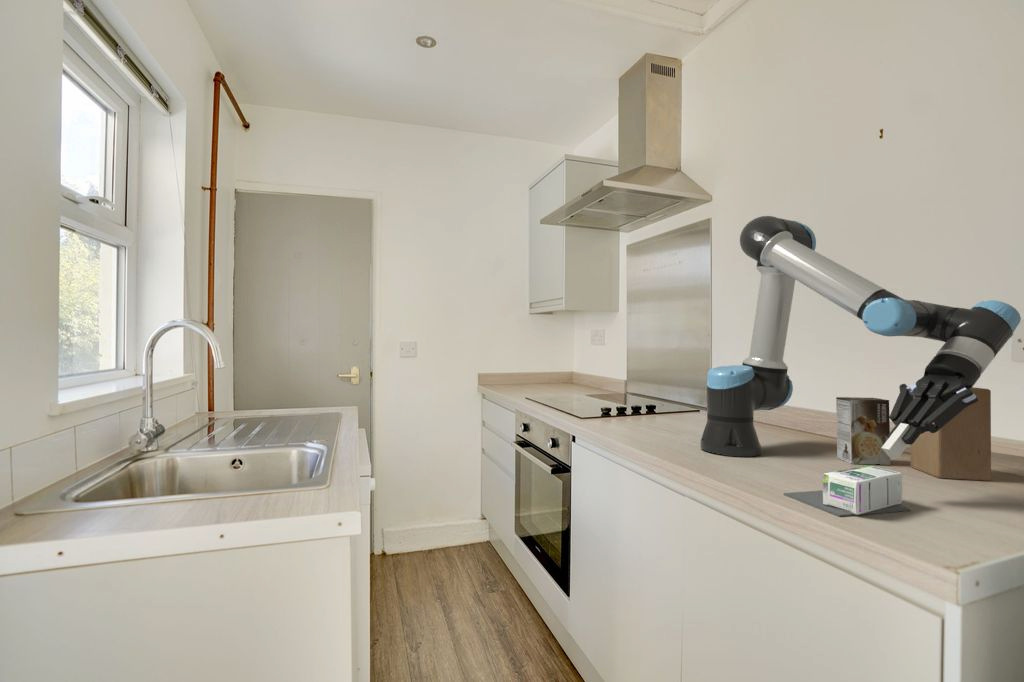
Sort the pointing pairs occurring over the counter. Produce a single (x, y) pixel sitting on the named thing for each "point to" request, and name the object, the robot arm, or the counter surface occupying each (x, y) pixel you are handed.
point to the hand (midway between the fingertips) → (889, 453)
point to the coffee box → (862, 430)
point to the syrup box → (862, 489)
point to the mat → (817, 501)
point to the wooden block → (958, 444)
